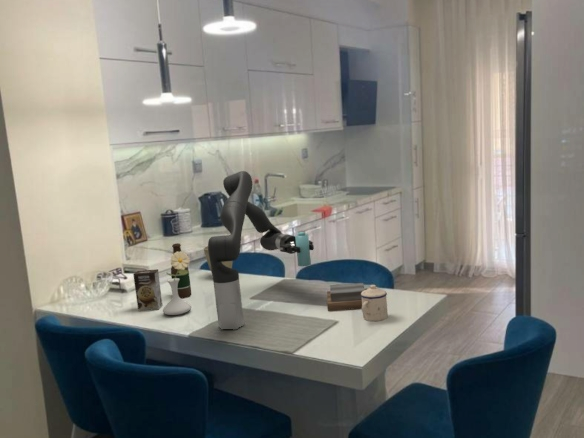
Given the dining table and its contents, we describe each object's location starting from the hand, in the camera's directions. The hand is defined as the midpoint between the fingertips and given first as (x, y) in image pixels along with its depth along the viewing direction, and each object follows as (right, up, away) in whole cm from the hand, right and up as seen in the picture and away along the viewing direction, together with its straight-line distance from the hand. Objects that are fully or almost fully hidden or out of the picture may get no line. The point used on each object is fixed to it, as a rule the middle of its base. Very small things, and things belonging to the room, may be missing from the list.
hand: (306, 248), depth 217 cm
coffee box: (-65, -26, +17) cm, 72 cm away
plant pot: (-40, -18, +58) cm, 73 cm away
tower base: (+16, -21, -3) cm, 27 cm away
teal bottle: (-1, -6, +3) cm, 7 cm away
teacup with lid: (+23, -23, -23) cm, 40 cm away
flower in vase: (-51, -26, +7) cm, 58 cm away
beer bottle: (-54, -23, +31) cm, 66 cm away
